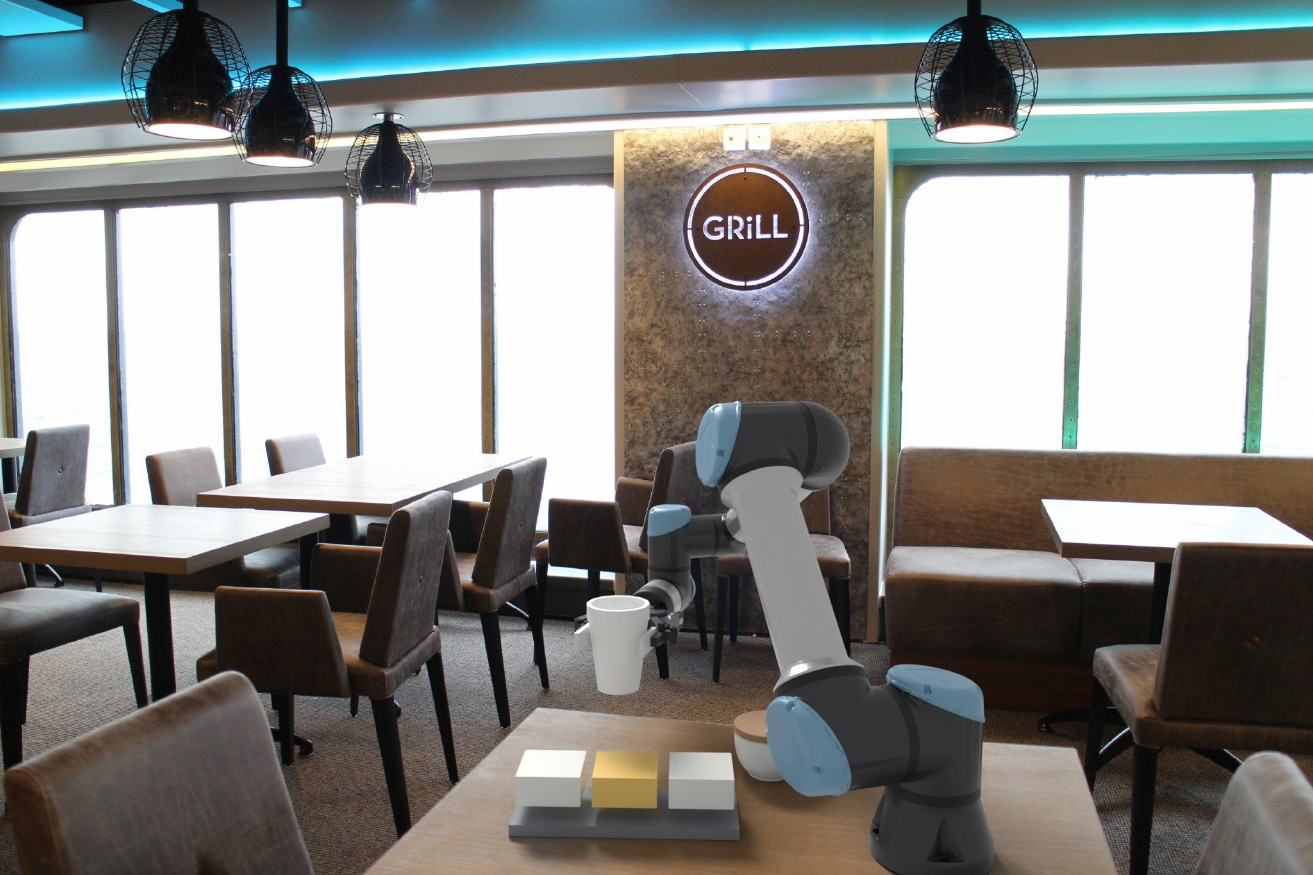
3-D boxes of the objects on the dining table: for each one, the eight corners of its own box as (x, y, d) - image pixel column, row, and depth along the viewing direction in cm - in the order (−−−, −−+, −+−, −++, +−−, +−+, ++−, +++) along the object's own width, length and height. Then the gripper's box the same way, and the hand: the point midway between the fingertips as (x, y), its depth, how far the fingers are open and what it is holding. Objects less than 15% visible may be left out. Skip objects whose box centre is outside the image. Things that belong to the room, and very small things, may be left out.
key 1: (586, 778, 136) (586, 750, 136) (580, 806, 128) (579, 777, 128) (525, 777, 137) (525, 749, 136) (515, 805, 128) (515, 776, 128)
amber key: (658, 779, 136) (658, 751, 136) (656, 808, 128) (656, 778, 127) (597, 778, 136) (597, 750, 136) (591, 807, 128) (591, 777, 128)
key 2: (730, 780, 136) (731, 752, 135) (733, 809, 127) (734, 779, 127) (669, 779, 136) (669, 751, 136) (668, 808, 128) (668, 778, 127)
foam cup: (652, 678, 152) (652, 596, 151) (646, 699, 143) (646, 612, 141) (592, 676, 153) (591, 594, 152) (581, 697, 143) (581, 610, 142)
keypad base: (735, 800, 137) (735, 790, 137) (739, 840, 126) (739, 829, 126) (522, 797, 138) (522, 787, 138) (508, 836, 127) (508, 825, 127)
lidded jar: (721, 764, 150) (721, 704, 149) (783, 753, 153) (784, 695, 153) (753, 793, 140) (753, 730, 139) (818, 782, 144) (819, 720, 143)
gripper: (716, 634, 161) (681, 677, 140) (591, 624, 168) (539, 663, 146) (717, 589, 161) (681, 625, 139) (591, 581, 167) (538, 614, 145)
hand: (608, 645), depth 143 cm, fingers closed on foam cup, 9 cm apart
